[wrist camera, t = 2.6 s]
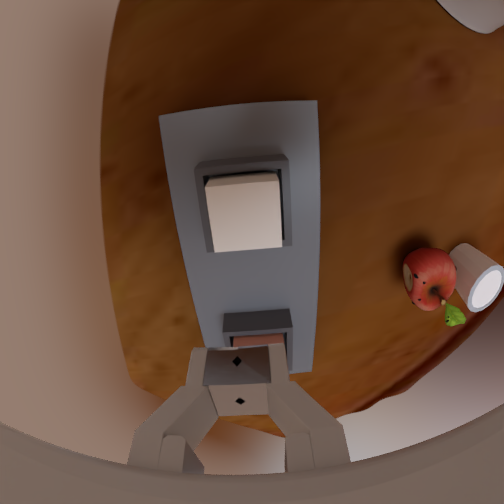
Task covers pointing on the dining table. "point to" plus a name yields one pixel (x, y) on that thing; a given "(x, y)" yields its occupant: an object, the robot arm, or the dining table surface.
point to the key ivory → (244, 211)
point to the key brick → (258, 339)
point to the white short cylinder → (476, 276)
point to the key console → (257, 260)
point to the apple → (431, 281)
